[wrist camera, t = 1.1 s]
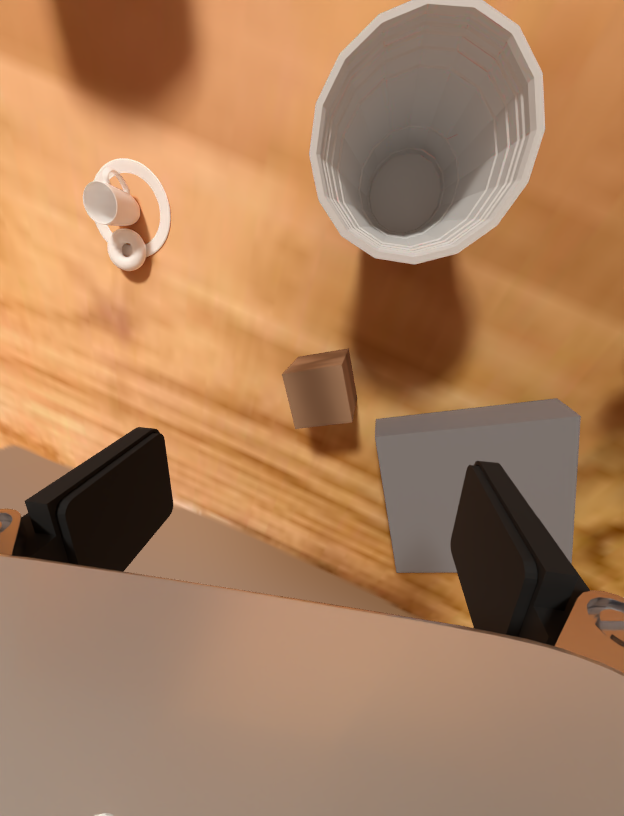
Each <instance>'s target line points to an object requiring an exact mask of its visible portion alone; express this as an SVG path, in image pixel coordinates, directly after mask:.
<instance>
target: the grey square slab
mask: <svg viewBox="0 0 624 816" xmlns="http://www.w3.org/2000/svg"><path fill="white" fill-rule="evenodd" d="M580 417H581V416H580V415H578V414H577V413H576V412H574V411H573V410H572V409H570V408H569V407H568V406H566V405H565V404H564V403H562V402H561V401H560V400H558V399H548V400H540V401H531V402H522V403H513V404H505V405H496V406H487V407H478V408H470V409H461V410H452V411H443V412H435V413H426V414H417V415H408V416H400V417H391V418H382V419H376V427H375V440H376V446H377V452H378V459H379V465H380V471H381V477H382V484H383V490H384V496H385V503H386V509H387V515H388V521H389V528H390V534H391V540H392V547H393V553H394V559H395V566H396V572H397V573H435V572H457V570H456V567H455V563H454V560H453V557H452V553H451V546H450V543H451V536H452V532H453V528H454V523H455V519H456V514H457V510H458V505H459V501H460V497H461V492H462V488H463V483H464V479H465V474H466V470H467V467H468V466H469V465H474V464H475V462H476V461H485V462H495V463H499V464H500V465H501V466H502V467H503V469H504V470H505V472H506V473H507V475H508V476H509V477H510V479H511V480H512V482H513V483H514V484H515V486H516V487H517V489H518V490H519V491H520V493H521V494H522V496H523V497H524V499H525V500H526V501H527V503H528V504H529V506H530V507H531V508H532V510H533V511H534V513H535V514H536V516H537V517H538V518H539V519H540V521H541V522H542V523H543V525H544V526H545V528H546V529H547V530H548V532H549V533H550V535H551V536H552V538H553V539H554V540H555V542H556V543H557V545H558V546H559V547H560V549H561V550H562V552H563V553H564V554H565V556H566V557H567V559H568V560H569V561H570V563H571V562H572V546H573V530H574V514H575V498H576V482H577V466H578V449H579V433H580Z"/></svg>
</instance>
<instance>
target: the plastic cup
mask: <svg viewBox="0 0 624 816" xmlns="http://www.w3.org/2000/svg"><path fill="white" fill-rule="evenodd" d="M544 131H545V115H544V93H543V73H542V71H541V69H540V67H539V65H538V63H537V61H536V59H535V57H534V55H533V53H532V51H531V49H530V47H529V45H528V43H527V41H526V39H525V37H524V35H523V32H522V30H521V28H520V26H519V25H517V24H516V23H514V22H513V21H512V20H510V19H509V18H507V17H506V16H504V15H503V14H502V13H500V12H499V11H497V10H496V9H494V8H493V7H492V6H490V5H489V4H487V3H486V2H484V1H483V0H411V1H409V2H407V3H404V4H402V5H400V6H397V7H395V8H392V9H390V10H388V11H385V12H383V13H381V14H379V15H378V16H377V17H376V18H375V19H374V20H373V21H372V22H371V23H370V24H369V25H368V26H367V27H366V28H365V29H364V30H363V31H362V32H361V33H360V34H359V35H358V36H357V37H356V38H355V39H354V40H353V41H352V42H351V43H350V44H349V45H348V46H347V47H346V48H345V49H344V50H343V51H342V52H341V53H340V54H339V56H338V58H337V60H336V62H335V65H334V67H333V69H332V71H331V73H330V75H329V77H328V79H327V81H326V83H325V85H324V87H323V90H322V92H321V94H320V96H319V98H318V100H317V102H316V106H315V114H314V122H313V129H312V137H311V145H310V152H309V156H310V161H311V166H312V171H313V176H314V180H315V185H316V190H317V195H318V200H319V202H320V203H321V205H322V207H323V208H324V210H325V211H326V213H327V214H328V216H329V217H330V219H331V221H332V222H333V224H334V225H335V227H336V228H337V230H338V231H339V233H340V235H341V236H342V237H344V238H345V239H347V240H348V241H350V242H351V243H353V244H354V245H356V246H357V247H359V248H360V249H362V250H363V251H365V252H366V253H368V254H369V255H371V256H372V257H374V258H376V259H383V260H389V261H396V262H402V263H409V264H419V263H423V262H426V261H430V260H434V259H438V258H442V257H446V256H450V255H454V254H457V253H459V252H460V251H462V250H463V249H464V248H466V247H467V246H469V245H470V244H471V243H473V242H474V241H476V240H477V239H479V238H480V237H481V236H483V235H484V234H486V233H487V232H488V231H490V230H491V229H493V228H494V227H496V226H497V225H498V223H499V222H500V221H501V219H502V218H503V216H504V215H505V214H506V212H507V211H508V210H509V208H510V207H511V205H512V204H513V203H514V201H515V200H516V199H517V197H518V196H519V194H520V193H521V192H522V190H523V189H524V187H525V186H526V185H527V183H528V182H529V178H530V175H531V172H532V169H533V166H534V163H535V159H536V156H537V153H538V150H539V147H540V143H541V140H542V137H543V134H544Z"/></svg>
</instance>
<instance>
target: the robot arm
mask: <svg viewBox="0 0 624 816" xmlns="http://www.w3.org/2000/svg"><path fill="white" fill-rule="evenodd" d="M25 504H26V506H27V510H28V514H26V515H24V516H23V517H21V515H20V513H19V512H18V511H16V510H13V509H0V816H624V598H623V597H620V596H618V595H615V594H611V593H608V592H604V591H593V590H592V591H590V590H589V588H588V587H587V585H586V584H585V583H584V581H583V580H582V578H581V577H580V576H579V574H578V573H577V571H576V570H575V569H574V567H573V566H572V564H571V563H570V561H569V560H568V559H567V557H566V556H565V554H564V553H563V552H562V550H561V549H560V547H559V546H558V545H557V543H556V542H555V540H554V539H553V538H552V536H551V535H550V533H549V532H548V530H547V529H546V528H545V526H544V525H543V523H542V522H541V521H540V519H539V518H538V517H537V516H536V514H535V513H534V511H533V510H532V508H531V507H530V506H529V504H528V503H527V501H526V500H525V499H524V497H523V496H522V494H521V493H520V491H519V490H518V489H517V487H516V486H515V484H514V483H513V482H512V480H511V479H510V477H509V476H508V475H507V473H506V472H505V470H504V469H503V467H502V466H501V465H500V464H499V463H495V462H485V461H476V462H475V464H474V465H469V466H468V467H467V470H466V474H465V479H464V483H463V488H462V492H461V497H460V501H459V505H458V510H457V514H456V519H455V523H454V528H453V532H452V536H451V543H450V546H451V553H452V557H453V560H454V563H455V567H456V570H457V573H458V576H459V580H460V583H461V586H462V590H463V593H464V596H465V600H466V603H467V606H468V609H469V613H470V616H471V619H472V623H473V626H474V628H470V627H465V626H460V625H453V624H447V623H441V622H435V621H429V620H423V619H417V618H411V617H405V616H399V615H393V614H386V613H380V612H375V611H368V610H362V609H356V608H350V607H344V606H338V605H332V604H326V603H320V602H313V601H307V600H301V599H295V598H289V597H283V596H276V595H270V594H264V593H257V592H251V591H245V590H239V589H232V588H226V587H219V586H213V585H207V584H200V583H194V582H188V581H181V580H175V579H168V578H162V577H155V576H148V575H142V574H135V573H129V572H123V571H124V570H125V569H126V568H127V566H128V565H129V564H130V563H131V562H132V561H133V559H134V558H135V557H136V556H137V554H138V553H139V552H140V551H141V550H142V548H143V547H144V546H145V545H146V544H147V542H148V541H149V540H150V539H151V537H152V536H153V535H154V533H156V531H157V530H158V529H159V528H160V527H161V525H162V524H163V523H164V522H165V521H166V519H167V518H168V517H169V516H170V514H171V512H172V509H173V498H172V491H171V484H170V476H169V469H168V462H167V454H166V447H165V440H164V436H163V435H162V434H160V433H159V431H158V430H157V429H152V428H141V427H138V428H135V429H134V430H132V431H131V432H129V433H128V434H126V435H125V436H123V437H122V438H120V439H119V440H117V441H116V442H114V443H113V444H111V445H110V446H108V447H106V448H105V449H103V450H102V451H100V452H99V453H97V454H96V455H94V456H93V457H91V458H90V459H88V460H87V461H85V462H84V463H82V464H81V465H79V466H77V467H76V468H74V469H73V470H71V471H70V472H68V473H67V474H65V475H64V476H62V477H61V478H59V479H58V480H56V481H55V482H53V483H52V484H50V485H49V486H47V487H46V488H44V489H42V490H41V491H39V492H38V493H36V494H35V495H33V496H32V497H30V498H29V499H27V500H26V501H25Z"/></svg>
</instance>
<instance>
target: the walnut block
mask: <svg viewBox="0 0 624 816" xmlns="http://www.w3.org/2000/svg"><path fill="white" fill-rule="evenodd" d="M282 376H283V380H284V384H285V388H286V392H287V397H288V401H289V405H290V409H291V413H292V417H293V421H294V425H295V429H299V428H308V427H316V426H325V425H334V424H343V423H351V422H352V421H353V416H354V411H355V406H356V401H357V395H356V389H355V383H354V377H353V371H352V365H351V360H350V354H349V349H343V350H337V351H331V352H325V353H319V354H313V355H307V356H301V357H298V358H297V359H296V360H295V361H294V362H293V363H292V364H291V365H290V366H289V367H288V368H287V369H286V370H285V372H284V373H283V374H282Z"/></svg>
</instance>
